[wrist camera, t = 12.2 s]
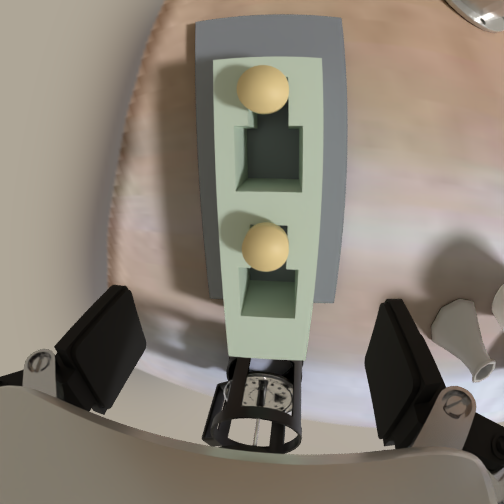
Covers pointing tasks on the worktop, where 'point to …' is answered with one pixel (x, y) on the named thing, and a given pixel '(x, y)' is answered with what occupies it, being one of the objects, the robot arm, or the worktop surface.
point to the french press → (256, 406)
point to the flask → (463, 337)
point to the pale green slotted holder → (268, 211)
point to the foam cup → (499, 306)
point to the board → (274, 136)
